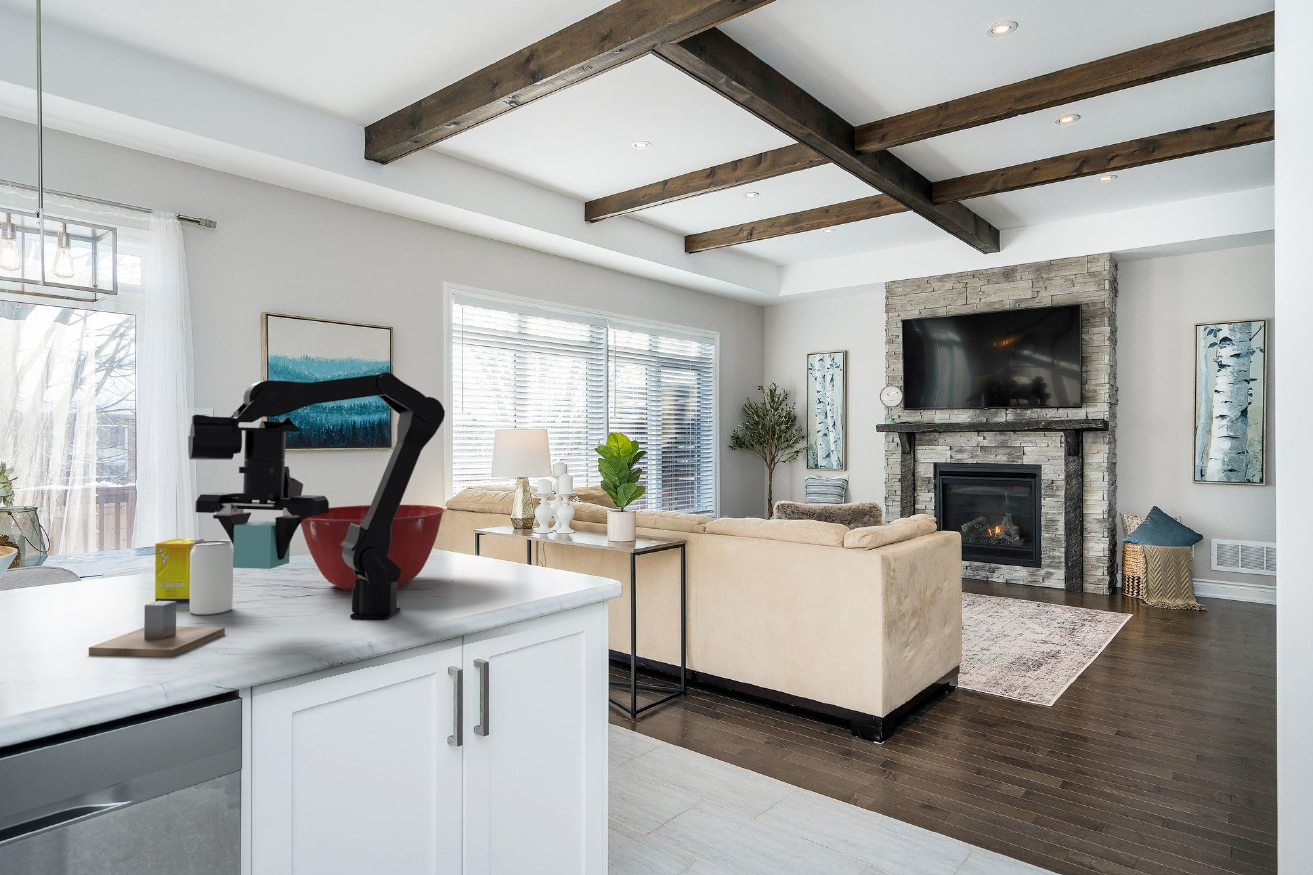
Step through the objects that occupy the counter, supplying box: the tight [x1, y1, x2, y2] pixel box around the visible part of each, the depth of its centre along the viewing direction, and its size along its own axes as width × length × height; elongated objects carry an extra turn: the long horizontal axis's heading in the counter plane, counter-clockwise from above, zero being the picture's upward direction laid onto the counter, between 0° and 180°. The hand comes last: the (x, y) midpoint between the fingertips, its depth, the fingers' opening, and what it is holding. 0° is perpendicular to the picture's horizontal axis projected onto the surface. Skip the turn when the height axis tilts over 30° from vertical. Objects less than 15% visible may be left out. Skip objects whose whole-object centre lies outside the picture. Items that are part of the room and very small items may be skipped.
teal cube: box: [232, 520, 291, 570], centre depth 120 cm, size 6×6×7 cm
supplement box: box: [154, 538, 206, 604], centre depth 140 cm, size 6×6×11 cm
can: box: [189, 539, 234, 616], centre depth 132 cm, size 6×6×12 cm
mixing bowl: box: [300, 504, 445, 592], centre depth 156 cm, size 28×28×16 cm
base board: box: [88, 625, 226, 658], centre depth 111 cm, size 12×12×1 cm
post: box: [143, 601, 177, 640], centre depth 111 cm, size 3×3×5 cm
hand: (261, 558), depth 120 cm, fingers closed on teal cube, 6 cm apart
